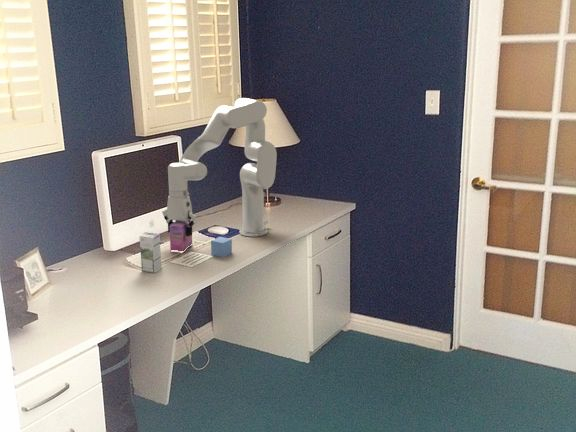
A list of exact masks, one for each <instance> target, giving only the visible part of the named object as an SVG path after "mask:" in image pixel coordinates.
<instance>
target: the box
mask: <svg viewBox="0 0 576 432" xmlns="http://www.w3.org/2000/svg"><path fill="white" fill-rule="evenodd" d="M191 221H192V219H191ZM173 222H174V223H172V224H171V225H170V233H169V245H170V247H169V248H170V249H169V250H170V251H171V250H178V251H184V250H185V249H186V248H187V247H188V246H190V245H191V244H192V245H193V234H192V235H190V236H186V227H187V225H186V224H185V222H181V221H176V220H174V221H173ZM188 223H189V222H188Z"/></svg>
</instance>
